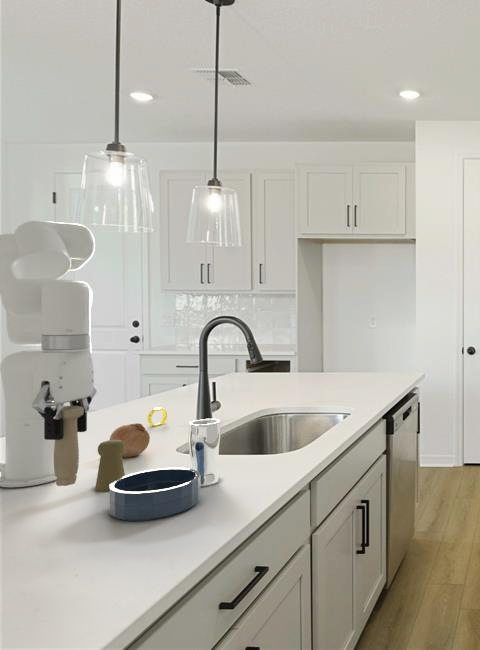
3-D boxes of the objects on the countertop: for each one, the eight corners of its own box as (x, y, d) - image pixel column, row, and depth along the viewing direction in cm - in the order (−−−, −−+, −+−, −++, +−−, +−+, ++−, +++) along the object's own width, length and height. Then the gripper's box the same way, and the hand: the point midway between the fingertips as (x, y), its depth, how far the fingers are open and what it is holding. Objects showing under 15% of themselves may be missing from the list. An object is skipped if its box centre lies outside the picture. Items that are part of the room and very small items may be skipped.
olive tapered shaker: (132, 484, 136) (132, 439, 136) (107, 492, 130) (107, 445, 130) (114, 481, 138) (114, 436, 138) (89, 488, 132) (89, 442, 132)
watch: (163, 422, 198) (163, 406, 198) (168, 423, 197) (168, 406, 197) (146, 426, 193) (146, 409, 192) (151, 427, 191) (151, 409, 191)
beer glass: (206, 488, 134) (206, 426, 134) (181, 485, 136) (181, 424, 135) (226, 479, 141) (227, 419, 141) (202, 476, 143) (203, 418, 142)
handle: (71, 477, 115) (71, 404, 114) (89, 483, 112) (89, 408, 112) (43, 484, 110) (43, 408, 110) (61, 490, 108) (61, 412, 107)
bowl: (89, 521, 114) (89, 492, 114) (142, 492, 131) (142, 467, 131) (172, 523, 114) (172, 493, 114) (214, 494, 131) (214, 468, 131)
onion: (145, 463, 162) (164, 431, 164) (120, 464, 153) (140, 429, 154) (119, 449, 163) (138, 417, 165) (93, 449, 154) (113, 415, 156)
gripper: (79, 339, 119) (79, 425, 119) (8, 347, 102) (8, 446, 102) (115, 340, 119) (115, 425, 119) (50, 348, 102) (50, 447, 102)
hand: (66, 434), depth 111 cm, fingers closed on handle, 5 cm apart
